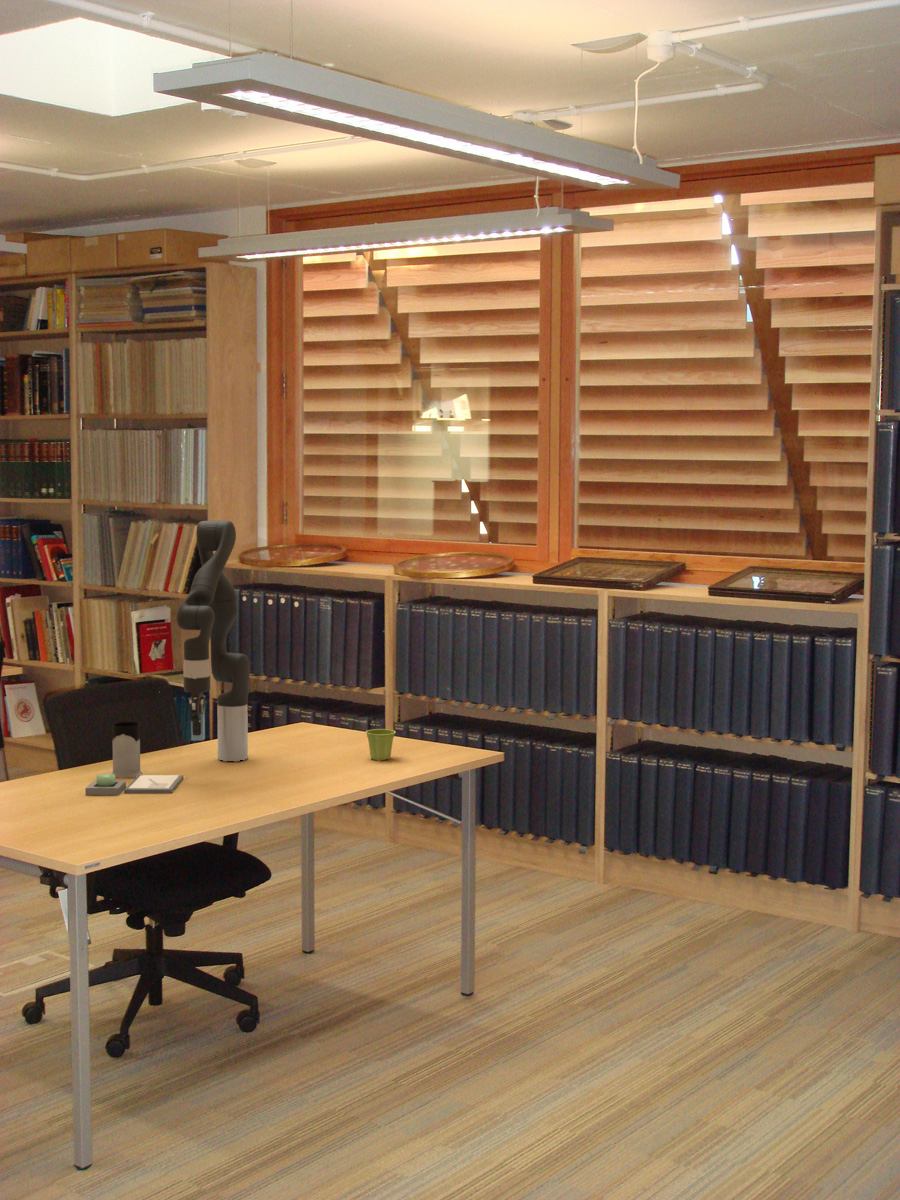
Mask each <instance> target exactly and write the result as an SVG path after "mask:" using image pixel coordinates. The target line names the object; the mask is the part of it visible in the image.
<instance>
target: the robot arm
mask: <svg viewBox="0 0 900 1200" xmlns="http://www.w3.org/2000/svg"><path fill="white" fill-rule="evenodd" d="M195 534H196V542H197V543H196V544H197V548H198V553H199V558H200V564H201V567H200V568H199V569H198V570H197V572H196V573H195V575H194V577H193V580H192V582H191V587H190V591H189V593H188V594H187V596H186V597H185V599H184V601H182V603H181V605H180V606H179V607H178V610H177V613H176V623H177V625H178V627H179V628H180V629H182V630H185V631H200V632H199V635H197V636H195V637H189V638H187V639H185V640H184V642H183V667H182V668H183V670H182V671H183V690H184V692H185V693H190V694H191V697H190V698H189V699H188V700H189V704H188V706H189V707H188V708H189V715H190V717H189V718H190V723H191V722H193V735H200V734H201V714H202V713H203V708H204V707H205V708H206V699H207V697H206V695H204V693H206V692H209V691H210V690H211V675H212V676H213V677H212V678H213V679H214V680H215V681H216V682H218V683H228V684H229V683H232V686H231V689H230V690H229V691H227V692H224V693H222V694H219V695H217V703H216V705H217V706H216V708H217V712H216V713H217V760H218V759H219V760H218V761H220V760H223V761H222V762H227V761H234V762H241V761H240V760H243V761H246V760H248V759H249V755H248V753H249V748H248V745H249V744H248V741H249V739H248V738H249V736H248V735H249V734H248V733H249V729H248V726H249V725H248V724H249V721H248V720H249V719H248V716H249V715H248V698H249V695H250V694H249V692H250V676H251V675H250V673H251V672H250V670H251V665H250V660H249V658H248V657H249V656H247V654H245V653H240V652H239V653H237V652H227V637H228V634H229V631H230V630H231V628H232V626H233V624H234V622H235V620H236V617H237V615H238V602H237V601H238V600H237V592H236V589H235V587H234V586H233V584H232V582H230V580H229V579H228V578H227V576H226V575H225V574H224V573H223V570H224V568H225V567H226V564H227V563H228V560H229V558H230V556H231V554H232V552H233V549H234V547H235V544H236V538H237V532H236V527H235V525H234V523H233V522H232V521H231V520H224V519H223V520H222V519H220V520H218V519H217V520H216V519H215V520H201V521H199V522H198V524H197V526H196V533H195ZM214 552H215V553H214ZM199 710H200V711H199ZM194 715H197V717H194ZM247 758H248V759H247ZM245 759H246V760H245Z"/></svg>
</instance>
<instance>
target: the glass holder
mask: <svg viewBox="0 0 900 1200" xmlns="http://www.w3.org/2000/svg"><path fill="white" fill-rule="evenodd" d="M111 743H112V772H111V774H115V778H117V777H119V779H127V777H131V778H134V777H133V776H138V775H140V774H142V775H143V772H142V771H141V738H140V723H139V722H136V721H135V722H134V721H121V722H116V723H113V724H112V742H111Z"/></svg>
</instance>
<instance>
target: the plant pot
mask: <svg viewBox="0 0 900 1200" xmlns="http://www.w3.org/2000/svg"><path fill="white" fill-rule="evenodd" d="M365 734H366V737H367V739H368V746H369V752H370V753H369V754H370V755H369V756H370V760H374V761H381V760H382V761H385V760H387V759H389V760H391V755H392V749H393V741H394V738H395V734H396V731H395V730H394V729H393V730H392V729H388V728H375V729H367V730H366V731H365Z"/></svg>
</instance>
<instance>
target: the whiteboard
mask: <svg viewBox="0 0 900 1200" xmlns="http://www.w3.org/2000/svg"><path fill="white" fill-rule="evenodd" d="M182 779H184V775H183V774H142V775H138V776H137V777H134V779H133V780H132V781H130V783H129V784H128V785H126V788H125V789H124V790H123V792H124V794H173V792H174V791H175V790H176V788H177V787H178V786H179V785H178V784H180V783H181V782H182V781H183V780H182ZM181 780H182V781H181ZM177 785H178V786H177ZM176 786H177V787H176ZM174 789H175V790H174ZM173 790H174V791H173ZM172 791H173V792H172Z"/></svg>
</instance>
